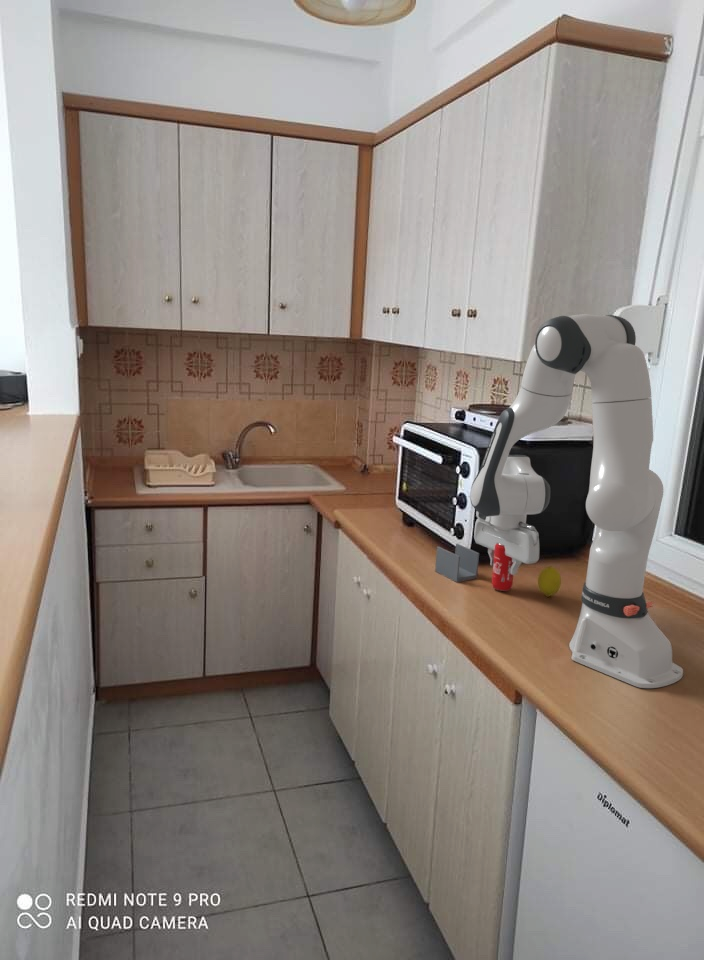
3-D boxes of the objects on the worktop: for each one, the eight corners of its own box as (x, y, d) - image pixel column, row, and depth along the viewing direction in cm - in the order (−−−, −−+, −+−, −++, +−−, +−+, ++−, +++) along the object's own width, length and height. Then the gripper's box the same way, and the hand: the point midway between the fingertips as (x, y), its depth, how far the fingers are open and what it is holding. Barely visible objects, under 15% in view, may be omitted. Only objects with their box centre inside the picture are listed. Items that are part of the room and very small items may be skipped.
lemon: (552, 602, 176) (556, 571, 174) (532, 595, 179) (535, 565, 178) (562, 596, 180) (566, 566, 178) (542, 590, 183) (546, 561, 182)
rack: (476, 578, 190) (479, 553, 188) (456, 582, 186) (458, 556, 185) (455, 567, 197) (457, 543, 196) (435, 571, 194) (437, 546, 192)
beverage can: (512, 592, 180) (516, 546, 177) (491, 590, 181) (495, 544, 178) (511, 585, 185) (516, 541, 182) (491, 583, 186) (495, 538, 183)
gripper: (548, 526, 172) (542, 581, 175) (490, 507, 189) (486, 556, 192) (529, 529, 168) (523, 585, 171) (472, 509, 185) (467, 560, 188)
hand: (503, 570), depth 182 cm, fingers closed on beverage can, 5 cm apart
